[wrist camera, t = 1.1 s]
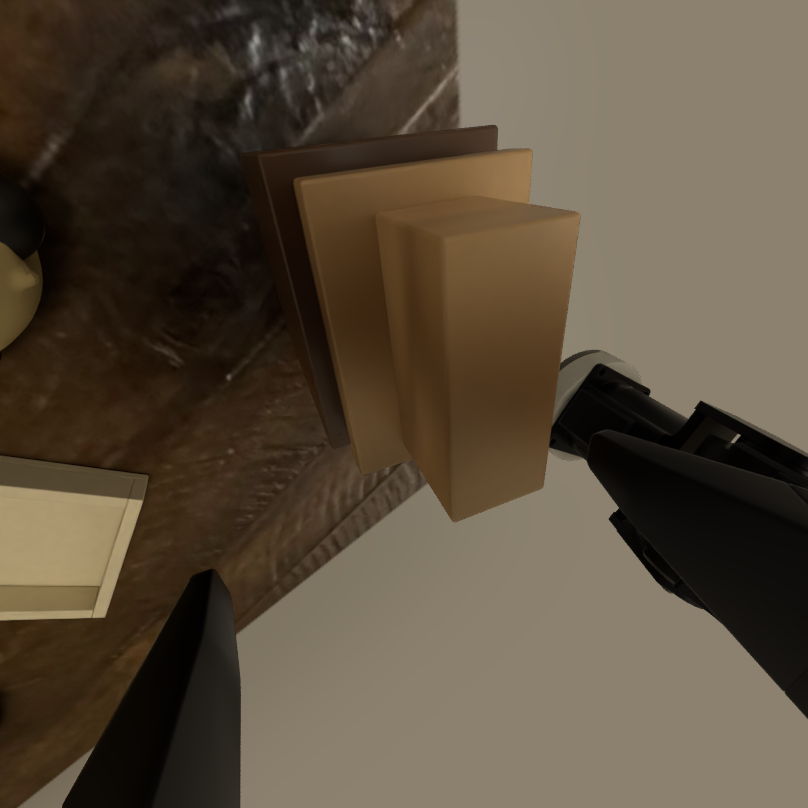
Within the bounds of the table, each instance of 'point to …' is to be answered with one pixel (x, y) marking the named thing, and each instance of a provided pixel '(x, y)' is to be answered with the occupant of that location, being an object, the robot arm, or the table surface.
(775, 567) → the robot arm
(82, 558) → the tray
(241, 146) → the table surface
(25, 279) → the tan animal figurine
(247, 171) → the brown block
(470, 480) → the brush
